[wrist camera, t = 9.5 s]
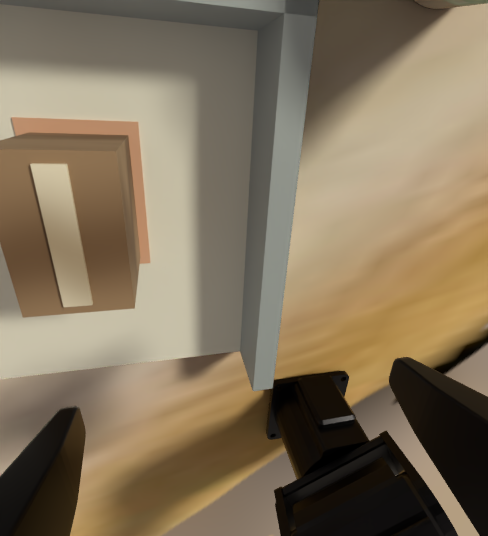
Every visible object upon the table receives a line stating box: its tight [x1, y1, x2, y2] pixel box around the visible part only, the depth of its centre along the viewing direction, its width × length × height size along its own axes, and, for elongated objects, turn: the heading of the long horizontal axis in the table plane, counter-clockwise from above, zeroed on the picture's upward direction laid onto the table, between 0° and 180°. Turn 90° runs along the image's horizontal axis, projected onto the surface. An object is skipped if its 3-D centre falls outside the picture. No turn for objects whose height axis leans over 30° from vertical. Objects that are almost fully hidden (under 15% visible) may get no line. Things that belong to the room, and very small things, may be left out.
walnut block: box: [0, 132, 140, 318], centre depth 14 cm, size 6×4×5 cm, turn 177°
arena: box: [0, 0, 319, 391], centre depth 15 cm, size 19×23×5 cm
